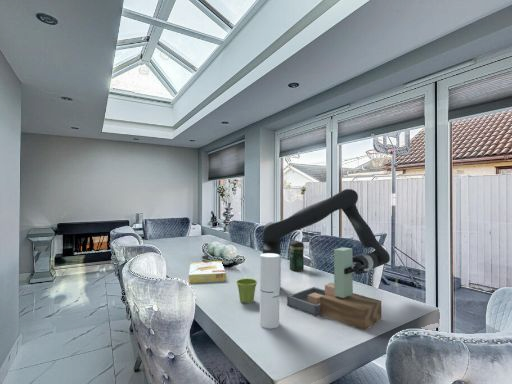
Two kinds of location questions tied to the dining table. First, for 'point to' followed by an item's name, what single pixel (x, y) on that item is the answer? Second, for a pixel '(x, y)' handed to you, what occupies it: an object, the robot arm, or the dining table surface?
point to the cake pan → (205, 258)
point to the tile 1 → (314, 298)
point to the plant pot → (246, 289)
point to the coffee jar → (296, 256)
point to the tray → (305, 301)
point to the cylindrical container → (269, 290)
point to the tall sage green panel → (342, 272)
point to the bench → (351, 310)
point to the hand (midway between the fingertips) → (339, 270)
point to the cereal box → (207, 272)
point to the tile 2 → (330, 289)
